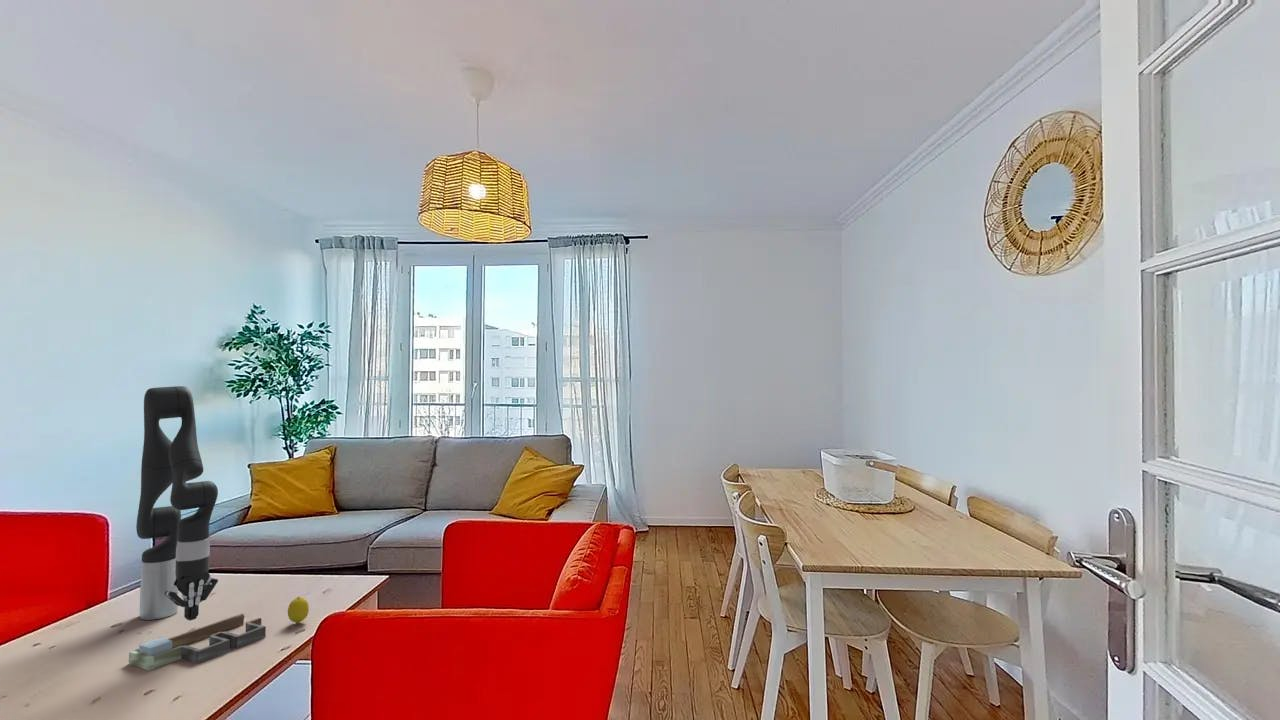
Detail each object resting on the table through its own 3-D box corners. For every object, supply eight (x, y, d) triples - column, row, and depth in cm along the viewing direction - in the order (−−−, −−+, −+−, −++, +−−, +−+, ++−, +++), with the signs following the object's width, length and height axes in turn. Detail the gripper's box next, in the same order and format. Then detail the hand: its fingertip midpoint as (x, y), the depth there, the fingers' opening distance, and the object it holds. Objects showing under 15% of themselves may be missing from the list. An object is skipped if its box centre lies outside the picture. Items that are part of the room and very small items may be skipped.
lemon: (299, 628, 182) (299, 600, 183) (283, 626, 183) (283, 599, 184) (312, 620, 188) (313, 594, 188) (297, 619, 189) (297, 592, 189)
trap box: (128, 663, 159) (129, 652, 159) (241, 623, 186) (241, 613, 186) (165, 676, 153) (166, 663, 153) (277, 632, 179) (277, 622, 179)
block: (138, 664, 159) (139, 644, 159) (160, 656, 164) (160, 637, 164) (150, 668, 157) (150, 648, 157) (171, 660, 162) (172, 640, 162)
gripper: (209, 547, 177) (207, 608, 177) (157, 560, 165) (155, 625, 164) (226, 551, 174) (224, 613, 173) (174, 564, 162) (173, 631, 161)
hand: (191, 619), depth 169 cm, fingers closed
